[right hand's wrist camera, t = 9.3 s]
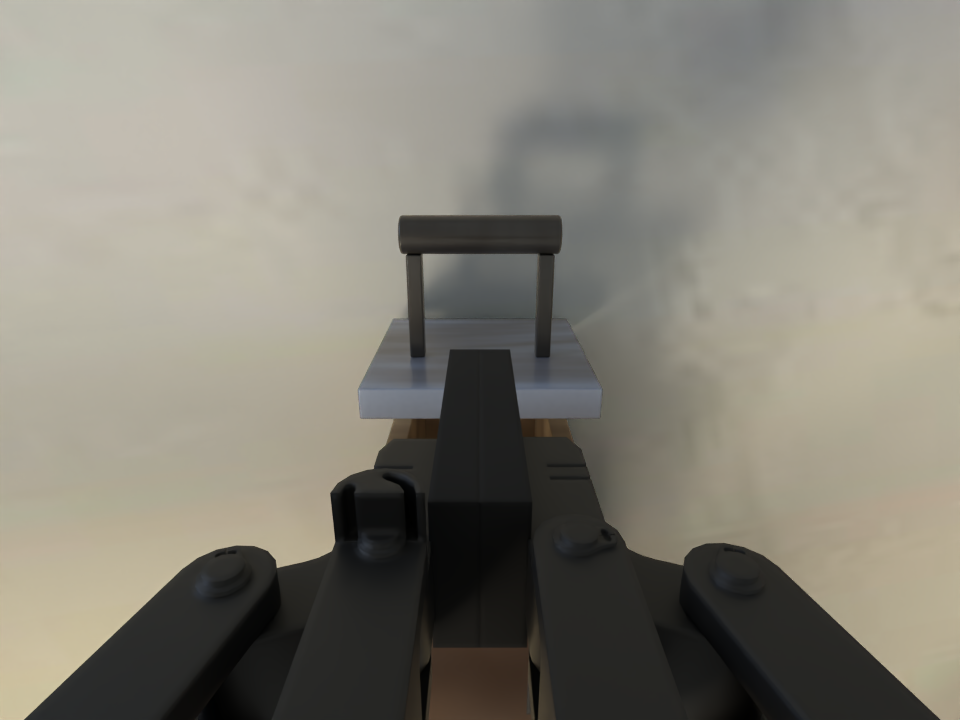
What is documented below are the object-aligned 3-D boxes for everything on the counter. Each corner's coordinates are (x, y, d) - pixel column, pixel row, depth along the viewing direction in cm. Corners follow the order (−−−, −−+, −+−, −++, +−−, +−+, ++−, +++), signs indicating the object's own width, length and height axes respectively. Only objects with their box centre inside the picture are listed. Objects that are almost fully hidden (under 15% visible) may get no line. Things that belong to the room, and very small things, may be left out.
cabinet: (392, 462, 33) (354, 604, 23) (567, 462, 33) (606, 604, 23) (407, 715, 40) (383, 911, 30) (552, 715, 40) (577, 911, 30)
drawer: (386, 202, 27) (344, 227, 19) (573, 202, 27) (616, 227, 19) (408, 611, 35) (386, 757, 27) (551, 611, 35) (573, 756, 27)
